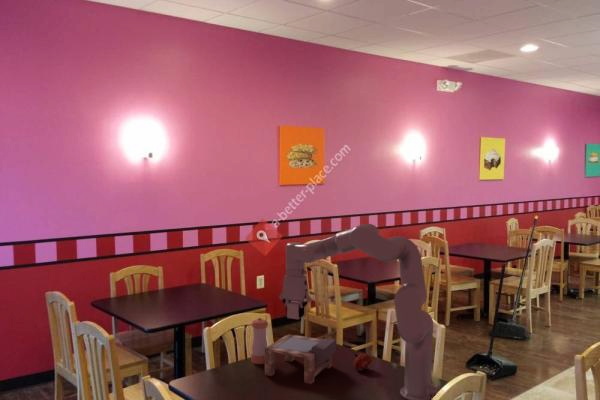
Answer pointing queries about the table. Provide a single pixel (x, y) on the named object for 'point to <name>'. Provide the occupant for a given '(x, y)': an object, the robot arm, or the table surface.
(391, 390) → the table surface
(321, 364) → the trapdoor frame
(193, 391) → the table surface
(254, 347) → the pepper shaker
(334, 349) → the trapdoor
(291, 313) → the granite stone
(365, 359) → the pomegranate
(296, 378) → the table surface
